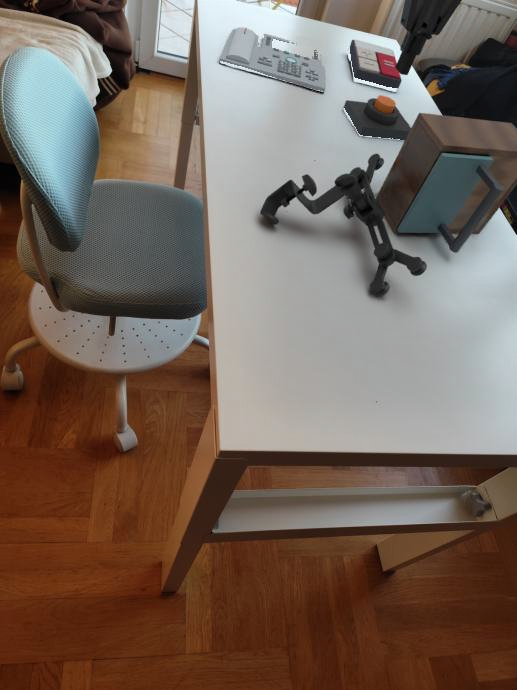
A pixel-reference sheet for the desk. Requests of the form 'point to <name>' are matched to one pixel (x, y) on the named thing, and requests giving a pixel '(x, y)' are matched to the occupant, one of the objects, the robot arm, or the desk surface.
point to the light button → (384, 104)
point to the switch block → (377, 120)
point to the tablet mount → (350, 214)
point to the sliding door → (451, 197)
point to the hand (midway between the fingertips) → (401, 71)
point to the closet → (454, 138)
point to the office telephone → (273, 59)
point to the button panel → (374, 64)
